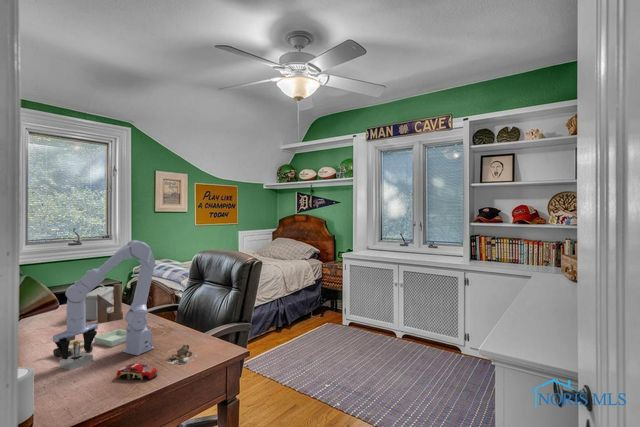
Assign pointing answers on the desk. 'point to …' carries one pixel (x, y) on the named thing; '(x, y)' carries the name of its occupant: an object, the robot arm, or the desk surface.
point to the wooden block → (104, 304)
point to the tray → (111, 338)
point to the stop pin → (76, 350)
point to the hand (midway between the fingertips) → (76, 354)
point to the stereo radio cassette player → (92, 301)
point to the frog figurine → (181, 356)
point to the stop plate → (76, 361)
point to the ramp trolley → (70, 347)
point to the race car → (136, 372)
